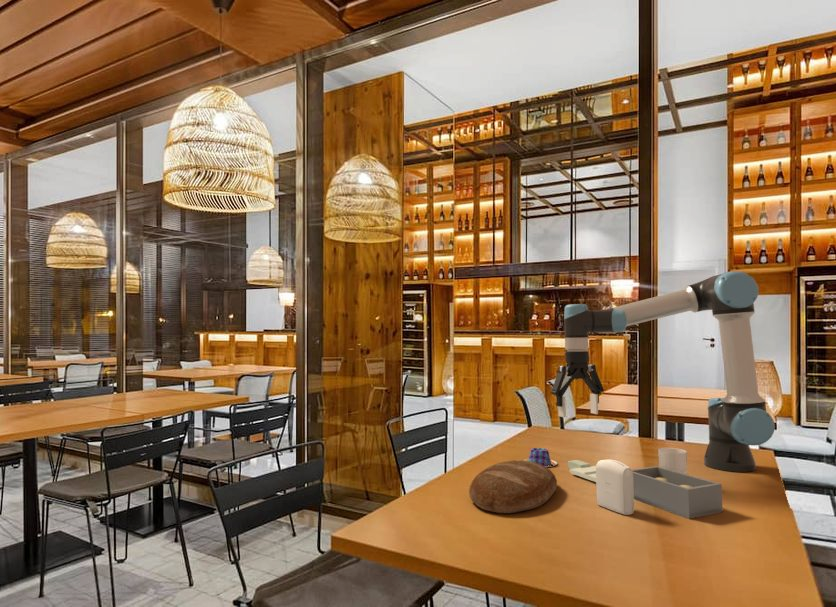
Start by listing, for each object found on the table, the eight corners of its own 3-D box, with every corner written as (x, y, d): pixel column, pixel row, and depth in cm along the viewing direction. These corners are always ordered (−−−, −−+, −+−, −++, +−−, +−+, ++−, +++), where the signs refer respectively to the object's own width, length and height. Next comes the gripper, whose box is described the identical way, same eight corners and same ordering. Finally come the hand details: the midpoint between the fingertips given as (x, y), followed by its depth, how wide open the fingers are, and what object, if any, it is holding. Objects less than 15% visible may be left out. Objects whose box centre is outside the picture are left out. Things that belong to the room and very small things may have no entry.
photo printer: (594, 504, 141) (593, 457, 142) (606, 502, 143) (605, 455, 144) (624, 516, 132) (623, 465, 133) (637, 514, 134) (635, 464, 135)
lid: (587, 467, 181) (587, 458, 182) (650, 488, 157) (650, 478, 157) (557, 471, 176) (557, 462, 176) (618, 493, 152) (618, 482, 152)
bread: (452, 509, 139) (452, 476, 139) (498, 475, 172) (497, 448, 172) (536, 522, 129) (536, 486, 130) (567, 483, 162) (567, 455, 163)
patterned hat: (560, 462, 189) (559, 447, 189) (554, 470, 178) (553, 454, 178) (526, 459, 193) (525, 444, 194) (518, 466, 182) (518, 451, 183)
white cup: (691, 488, 156) (690, 453, 156) (662, 487, 157) (661, 452, 158) (683, 481, 164) (682, 448, 164) (656, 479, 165) (655, 447, 166)
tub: (657, 490, 154) (656, 466, 154) (722, 512, 136) (721, 483, 136) (626, 496, 149) (625, 470, 149) (689, 518, 131) (688, 489, 131)
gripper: (597, 349, 187) (599, 410, 186) (539, 351, 176) (540, 416, 175) (613, 350, 180) (615, 413, 179) (553, 351, 170) (555, 419, 168)
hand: (578, 415), depth 177 cm, fingers open, 13 cm apart
